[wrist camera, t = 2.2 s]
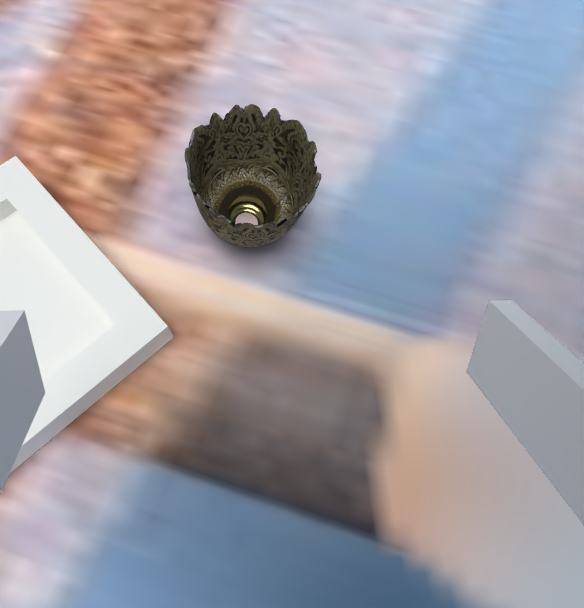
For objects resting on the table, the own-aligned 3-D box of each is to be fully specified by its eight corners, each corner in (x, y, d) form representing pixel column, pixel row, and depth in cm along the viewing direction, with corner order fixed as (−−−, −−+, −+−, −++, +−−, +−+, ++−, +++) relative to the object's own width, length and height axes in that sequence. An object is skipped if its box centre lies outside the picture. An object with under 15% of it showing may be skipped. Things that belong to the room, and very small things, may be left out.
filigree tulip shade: (190, 176, 33) (181, 101, 26) (291, 174, 34) (312, 102, 27) (196, 275, 31) (188, 227, 24) (303, 269, 33) (329, 221, 25)
